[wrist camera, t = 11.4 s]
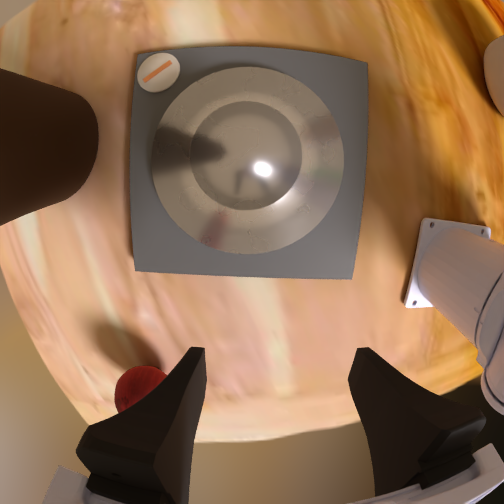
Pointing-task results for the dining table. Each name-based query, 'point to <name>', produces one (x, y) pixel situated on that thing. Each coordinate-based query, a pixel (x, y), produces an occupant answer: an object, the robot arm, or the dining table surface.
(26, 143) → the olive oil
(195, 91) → the scale pan
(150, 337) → the dining table surface
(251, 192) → the cylinder
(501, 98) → the teacup
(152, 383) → the onion
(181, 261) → the scale base
